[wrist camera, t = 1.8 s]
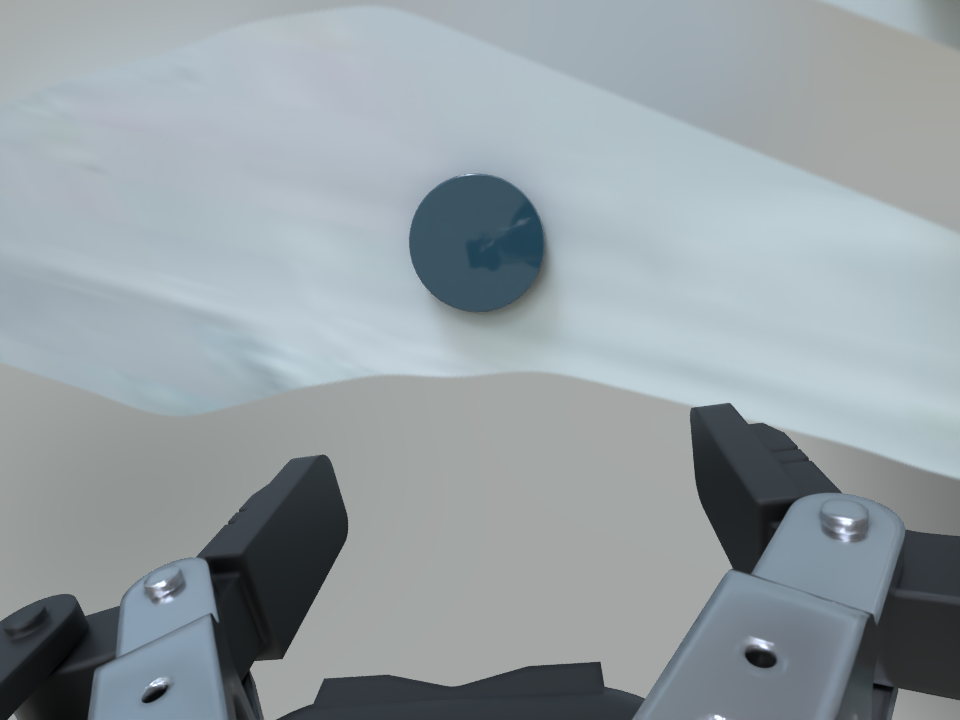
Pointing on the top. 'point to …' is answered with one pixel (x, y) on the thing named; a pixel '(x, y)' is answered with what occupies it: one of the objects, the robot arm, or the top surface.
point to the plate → (477, 242)
